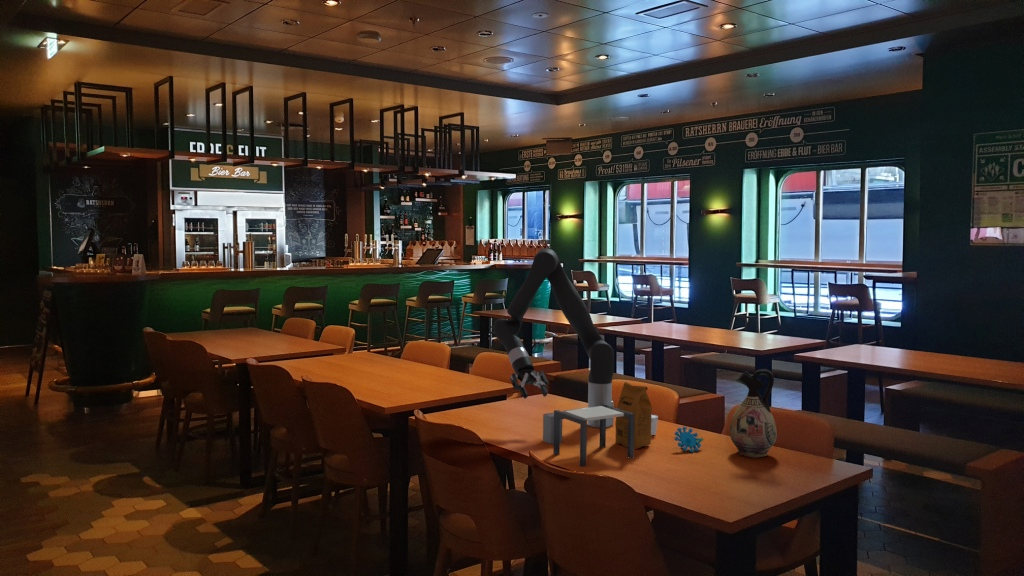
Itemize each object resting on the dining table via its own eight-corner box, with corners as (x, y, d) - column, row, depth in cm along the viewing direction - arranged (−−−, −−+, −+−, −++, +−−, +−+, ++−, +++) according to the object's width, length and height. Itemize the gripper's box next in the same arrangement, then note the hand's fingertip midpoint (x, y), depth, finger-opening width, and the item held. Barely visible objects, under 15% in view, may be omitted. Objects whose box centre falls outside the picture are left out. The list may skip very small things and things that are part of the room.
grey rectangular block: (554, 439, 281) (554, 412, 281) (562, 442, 277) (562, 415, 276) (542, 441, 279) (543, 413, 278) (550, 444, 275) (550, 416, 274)
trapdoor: (600, 408, 269) (600, 405, 269) (623, 416, 258) (623, 412, 258) (562, 413, 261) (562, 410, 261) (584, 421, 250) (584, 417, 250)
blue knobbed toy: (680, 449, 263) (673, 424, 270) (672, 458, 267) (665, 433, 274) (708, 451, 266) (700, 427, 273) (700, 460, 270) (693, 435, 277)
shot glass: (659, 433, 292) (660, 415, 291) (655, 437, 286) (655, 418, 285) (641, 431, 295) (642, 413, 294) (637, 435, 289) (637, 416, 288)
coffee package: (631, 439, 283) (632, 379, 281) (654, 446, 272) (656, 385, 271) (610, 442, 278) (611, 382, 276) (633, 450, 267) (634, 388, 266)
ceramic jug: (726, 457, 260) (729, 369, 258) (731, 446, 274) (733, 362, 272) (780, 463, 253) (782, 373, 252) (782, 451, 268) (784, 366, 266)
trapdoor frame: (602, 446, 273) (603, 404, 272) (633, 458, 258) (634, 413, 257) (553, 453, 262) (553, 410, 261) (582, 466, 247) (583, 420, 247)
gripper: (508, 356, 290) (523, 392, 281) (540, 354, 297) (556, 388, 288) (501, 368, 295) (516, 404, 286) (532, 366, 302) (548, 400, 293)
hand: (536, 396), depth 287 cm, fingers open, 8 cm apart
